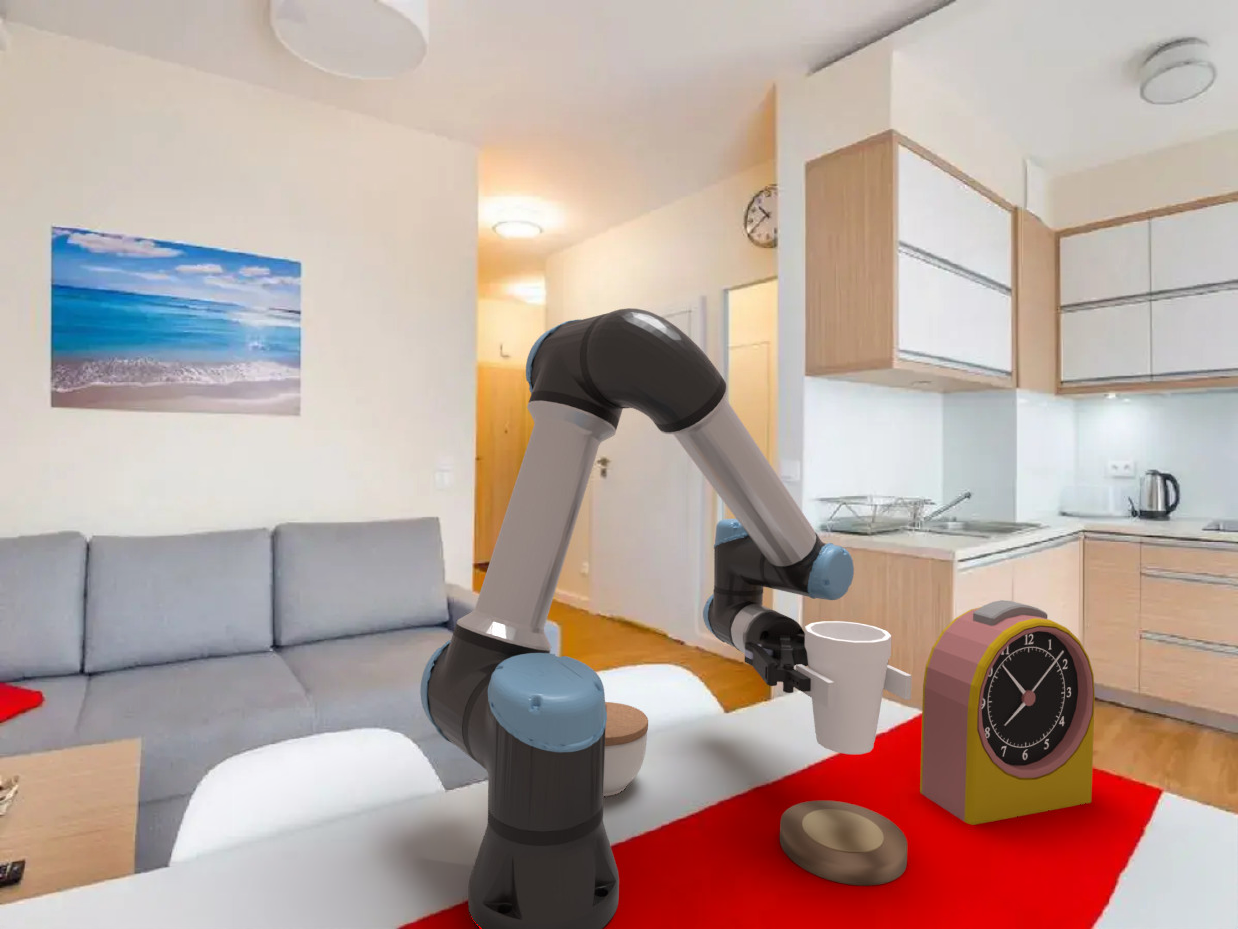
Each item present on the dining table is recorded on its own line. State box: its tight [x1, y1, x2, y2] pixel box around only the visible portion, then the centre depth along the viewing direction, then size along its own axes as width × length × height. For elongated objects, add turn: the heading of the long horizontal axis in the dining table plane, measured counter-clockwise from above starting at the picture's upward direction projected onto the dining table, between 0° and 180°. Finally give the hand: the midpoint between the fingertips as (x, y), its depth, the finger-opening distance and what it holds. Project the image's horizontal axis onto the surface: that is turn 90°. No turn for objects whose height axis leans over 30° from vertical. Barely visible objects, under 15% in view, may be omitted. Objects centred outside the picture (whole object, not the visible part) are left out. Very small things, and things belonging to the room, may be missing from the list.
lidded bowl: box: [603, 701, 649, 798], centre depth 95 cm, size 13×13×11 cm
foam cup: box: [804, 620, 892, 755], centre depth 80 cm, size 10×9×13 cm
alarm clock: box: [919, 599, 1096, 826], centre depth 93 cm, size 21×9×26 cm, turn 108°
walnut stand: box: [779, 800, 908, 886], centre depth 80 cm, size 14×14×2 cm
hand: (870, 691), depth 76 cm, fingers closed on foam cup, 9 cm apart
